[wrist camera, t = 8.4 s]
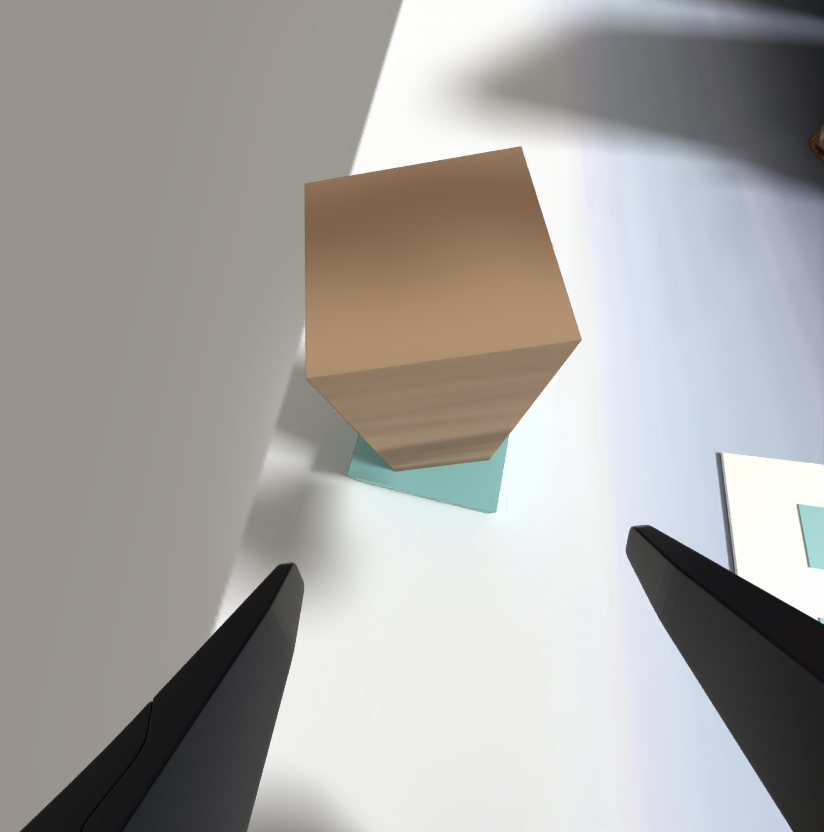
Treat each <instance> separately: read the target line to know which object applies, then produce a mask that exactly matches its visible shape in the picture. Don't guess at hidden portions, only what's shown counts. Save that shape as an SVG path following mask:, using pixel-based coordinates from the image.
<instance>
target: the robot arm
mask: <svg viewBox="0 0 824 832" xmlns="http://www.w3.org/2000/svg"><path fill="white" fill-rule="evenodd" d="M626 554H627V557H628V559H629V561H630V563H631V565H632V567H633V569H634V571H635V573H636V575H637V577H638V579H639V581H640V583H641V585H642V587H643V589H644V591H645V593H646V595H647V597H648V599H649V601H650V603H651V604H652V606H653V608H654V610H655V612H656V614H657V616H658V618H659V619H660V621H661V623H662V624H663V626H664V628H665V629H666V631H667V632H668V634H669V636H670V637H671V639H672V640H673V642H674V644H675V645H676V647H677V648H678V650H679V651H680V653H681V655H682V656H683V658H684V659H685V661H686V663H687V664H688V666H689V667H690V669H691V671H692V672H693V674H694V675H695V677H696V678H697V680H698V682H699V683H700V685H701V686H702V688H703V690H704V691H705V693H706V694H707V696H708V698H709V699H710V701H711V702H712V704H713V705H714V707H715V709H716V710H717V712H718V713H719V715H720V717H721V718H722V720H723V721H724V723H725V724H726V726H727V728H728V729H729V731H730V732H731V734H732V736H733V737H734V739H735V740H736V742H737V744H738V745H739V747H740V748H741V750H742V751H743V753H744V755H745V756H746V758H747V759H748V761H749V763H750V764H751V766H752V767H753V769H754V771H755V772H756V774H757V775H758V777H759V778H760V780H761V782H762V783H763V785H764V786H765V788H766V790H767V791H768V793H769V794H770V796H771V798H772V799H773V801H774V802H775V804H776V805H777V807H778V809H779V810H780V812H781V813H782V815H783V817H784V818H785V820H786V821H787V823H788V824H789V826H790V828H791V829H792V831H793V832H824V624H823V623H821V622H819V621H817V620H816V619H814V618H812V617H810V616H809V615H807V614H805V613H803V612H802V611H800V610H798V609H796V608H795V607H793V606H791V605H789V604H788V603H786V602H784V601H782V600H781V599H779V598H777V597H775V596H773V595H772V594H770V593H768V592H766V591H765V590H763V589H761V588H759V587H758V586H756V585H754V584H752V583H751V582H749V581H747V580H745V579H744V578H742V577H740V576H738V575H736V574H735V573H733V572H731V571H729V570H728V569H726V568H724V567H722V566H721V565H719V564H717V563H715V562H714V561H712V560H710V559H708V558H707V557H705V556H703V555H701V554H699V553H698V552H696V551H694V550H692V549H691V548H689V547H687V546H685V545H684V544H682V543H680V542H678V541H677V540H675V539H673V538H671V537H670V536H668V535H666V534H664V533H663V532H661V531H659V530H657V529H655V528H654V527H652V526H649V525H639V526H633V527H631V528H630V530H629V535H628V540H627V545H626ZM303 594H304V582H303V579H302V577H301V575H300V572H299V570H298V568H297V565H296V564H295V563H283V564H280V565H278V566H277V567H276V568H275V569H274V570H273V571H272V572H271V573H270V574H269V575H268V577H267V578H266V579H265V580H264V581H263V582H262V583H261V584H260V585H259V586H258V587H257V588H256V589H255V590H254V591H253V592H252V594H251V595H250V596H249V597H248V598H247V599H246V600H245V601H244V602H243V603H242V604H241V605H240V606H239V607H238V608H237V610H236V611H235V612H234V613H233V614H232V615H231V616H230V617H229V618H228V619H227V620H226V621H225V622H224V623H223V624H222V626H221V627H220V628H219V629H218V630H217V631H216V632H215V633H214V634H213V635H212V636H211V637H210V638H209V639H208V640H207V642H206V643H205V644H204V645H203V646H202V647H201V648H200V649H199V650H198V651H197V652H196V653H195V654H194V655H193V656H192V657H191V659H190V660H189V661H188V662H187V663H186V664H185V665H184V666H183V667H182V668H181V670H179V671H178V673H176V675H175V676H174V677H173V678H172V679H171V680H170V681H169V682H168V683H167V684H166V685H165V686H164V687H163V688H162V689H161V691H160V692H159V693H158V694H157V695H156V696H155V697H154V698H153V701H151V702H149V703H148V704H147V705H146V706H145V707H144V708H143V710H142V711H141V712H140V713H139V714H138V715H137V716H136V717H135V718H134V719H133V720H132V721H131V722H130V723H129V724H128V726H126V727H125V729H124V730H123V731H122V732H121V733H120V734H119V735H118V736H117V737H116V738H115V739H114V740H113V741H112V742H111V743H110V744H109V745H108V746H107V747H106V748H105V749H104V750H103V751H102V752H101V753H100V754H99V755H98V756H97V757H96V758H95V759H94V760H93V761H92V762H91V763H90V764H89V765H88V766H87V767H86V768H85V769H84V770H83V771H82V772H81V773H80V774H79V775H78V776H77V777H76V778H75V779H74V780H73V781H72V782H71V783H70V784H69V785H68V786H67V787H66V788H65V789H64V790H63V791H62V792H60V793H59V795H57V796H56V797H55V798H54V799H53V800H52V801H51V802H50V803H49V804H48V805H47V806H46V807H45V808H44V809H43V810H42V811H41V812H40V813H39V814H38V815H37V816H36V817H35V818H34V819H32V820H31V821H30V822H29V823H28V824H27V825H26V826H25V827H24V828H23V829H22V830H21V831H20V832H247V829H248V825H249V822H250V818H251V814H252V810H253V806H254V803H255V799H256V795H257V791H258V787H259V783H260V780H261V776H262V772H263V768H264V764H265V761H266V757H267V753H268V749H269V745H270V742H271V738H272V734H273V730H274V726H275V722H276V719H277V715H278V711H279V707H280V703H281V700H282V696H283V692H284V688H285V684H286V681H287V677H288V673H289V669H290V665H291V661H292V657H293V653H294V648H295V643H296V637H297V631H298V624H299V618H300V612H301V606H302V600H303Z"/></svg>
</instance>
